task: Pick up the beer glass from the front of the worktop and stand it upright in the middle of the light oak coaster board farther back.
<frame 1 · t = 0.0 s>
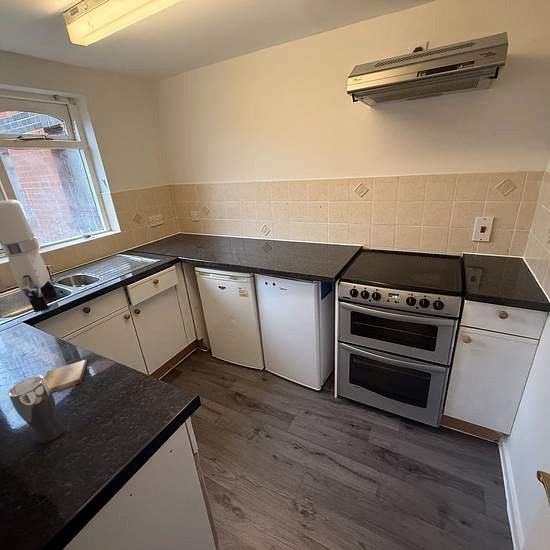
hand: (47, 303, 86), 25 cm above the countertop, tool pointing down, fingers open, 9 cm apart
beer glass: (52, 433, 74), on the countertop
board: (64, 378, 94), on the countertop
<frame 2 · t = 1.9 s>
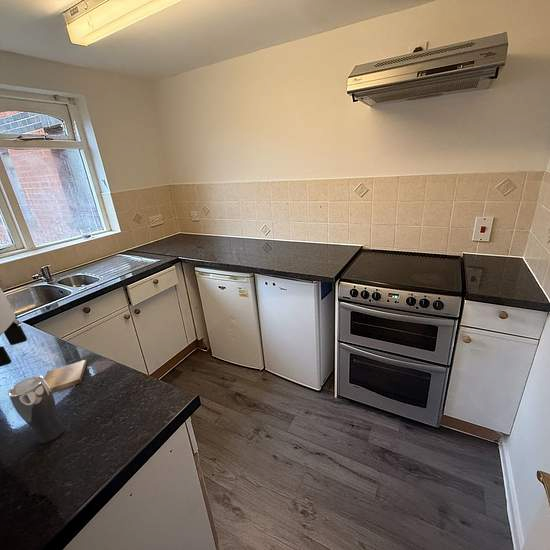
hand: (11, 353, 66), 24 cm above the countertop, tool pointing down, fingers open, 9 cm apart
nothing on the countertop moved.
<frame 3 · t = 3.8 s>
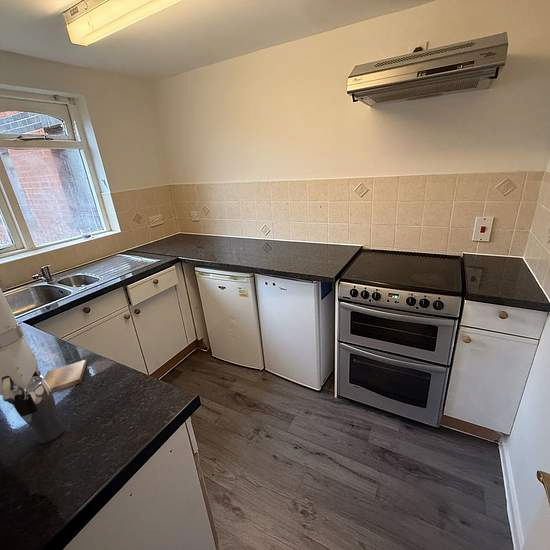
hand: (34, 401, 70), 10 cm above the countertop, tool pointing down, fingers closed on beer glass, 7 cm apart
beer glass: (52, 433, 74), on the countertop, touching gripper
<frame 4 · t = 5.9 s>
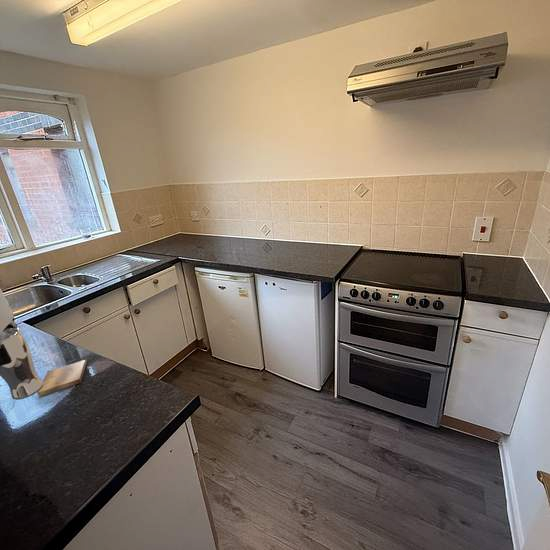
hand: (9, 354, 66), 23 cm above the countertop, tool pointing down, fingers closed on beer glass, 7 cm apart
beer glass: (29, 390, 70), point 13 cm above the countertop, touching gripper
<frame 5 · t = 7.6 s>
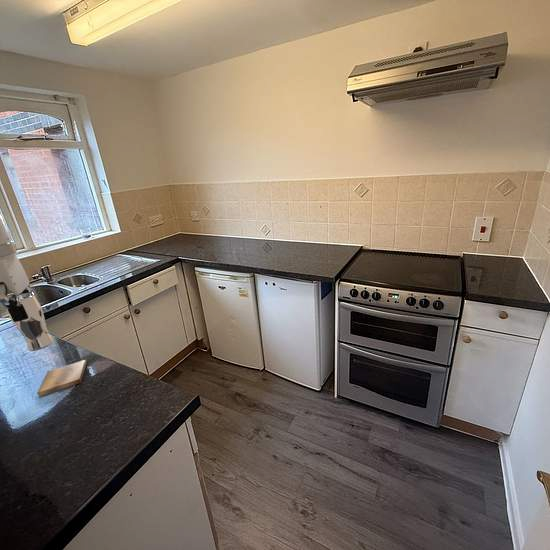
hand: (26, 313, 81), 25 cm above the countertop, tool pointing down, fingers closed on beer glass, 7 cm apart
beer glass: (41, 345, 85), point 15 cm above the countertop, touching gripper
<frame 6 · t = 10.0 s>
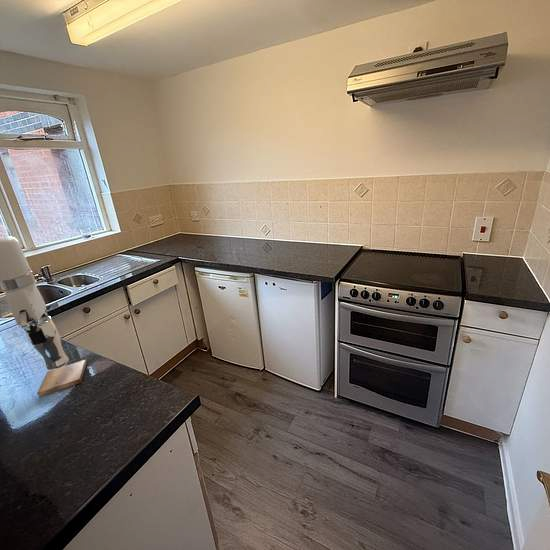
hand: (44, 336, 88), 16 cm above the countertop, tool pointing down, fingers closed on beer glass, 7 cm apart
beer glass: (58, 364, 92), point 5 cm above the countertop, touching gripper
when the fingers open (12 cm above the countertop, at t = 11.7 s): beer glass stays where it is, resting on board.
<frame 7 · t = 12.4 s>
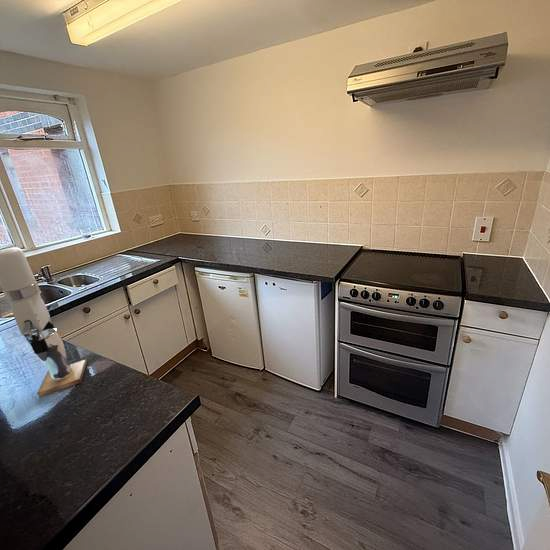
hand: (47, 343, 89), 13 cm above the countertop, tool pointing down, fingers open, 9 cm apart
beer glass: (63, 375, 94), point 1 cm above the countertop, touching board
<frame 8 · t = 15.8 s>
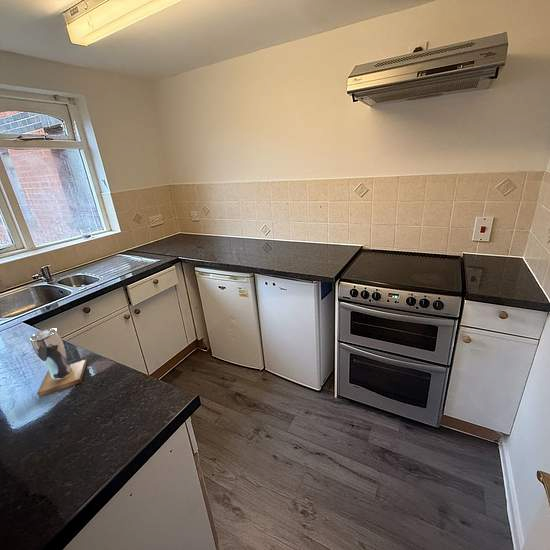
nothing on the countertop moved.
at the end: beer glass 0.0 cm off-centre on the board, point 1.3 cm above the board's base; beer glass tilted 0°; the gripper is holding nothing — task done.
